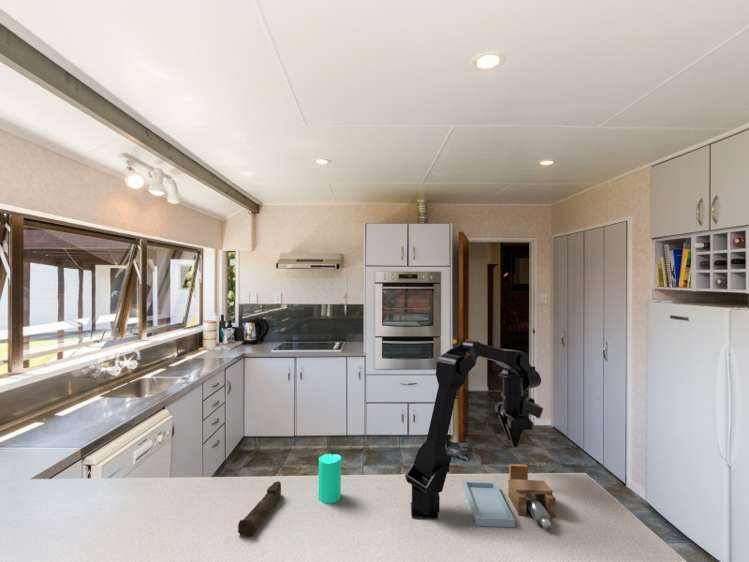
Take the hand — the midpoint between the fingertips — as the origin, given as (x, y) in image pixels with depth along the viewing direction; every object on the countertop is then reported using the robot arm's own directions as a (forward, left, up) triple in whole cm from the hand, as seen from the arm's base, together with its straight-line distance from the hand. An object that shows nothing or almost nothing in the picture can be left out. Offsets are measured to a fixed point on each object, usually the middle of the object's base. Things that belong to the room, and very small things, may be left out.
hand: (512, 443), depth 118 cm
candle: (-53, -16, -10) cm, 56 cm away
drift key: (0, -9, -10) cm, 14 cm away
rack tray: (-12, -17, -10) cm, 23 cm away
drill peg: (0, -21, -10) cm, 23 cm away
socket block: (0, -16, -10) cm, 19 cm away
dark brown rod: (-68, -25, -10) cm, 73 cm away
